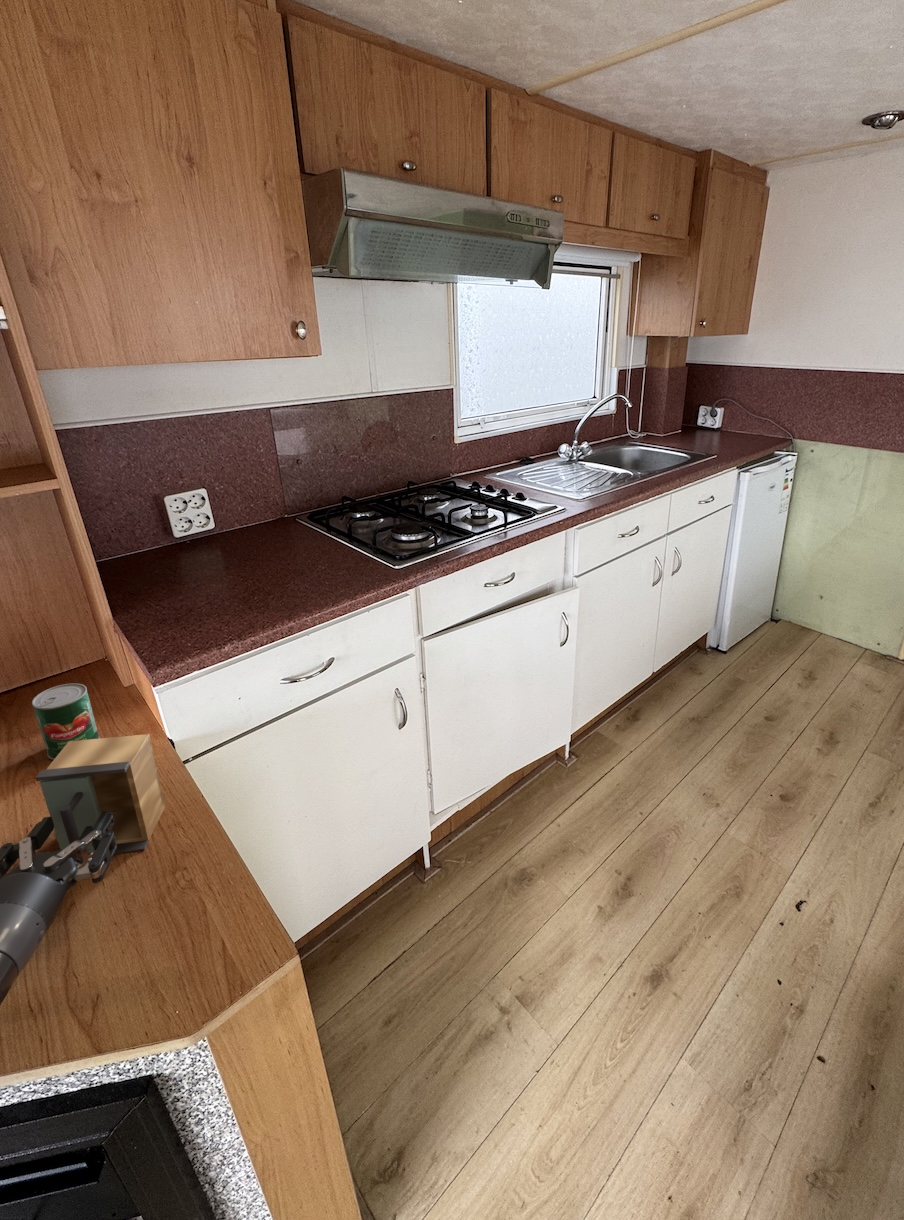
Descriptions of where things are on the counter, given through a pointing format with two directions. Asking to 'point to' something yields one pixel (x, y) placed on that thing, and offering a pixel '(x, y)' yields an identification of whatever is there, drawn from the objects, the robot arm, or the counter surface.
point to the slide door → (70, 808)
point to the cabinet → (117, 783)
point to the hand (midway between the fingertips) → (79, 818)
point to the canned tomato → (64, 716)
